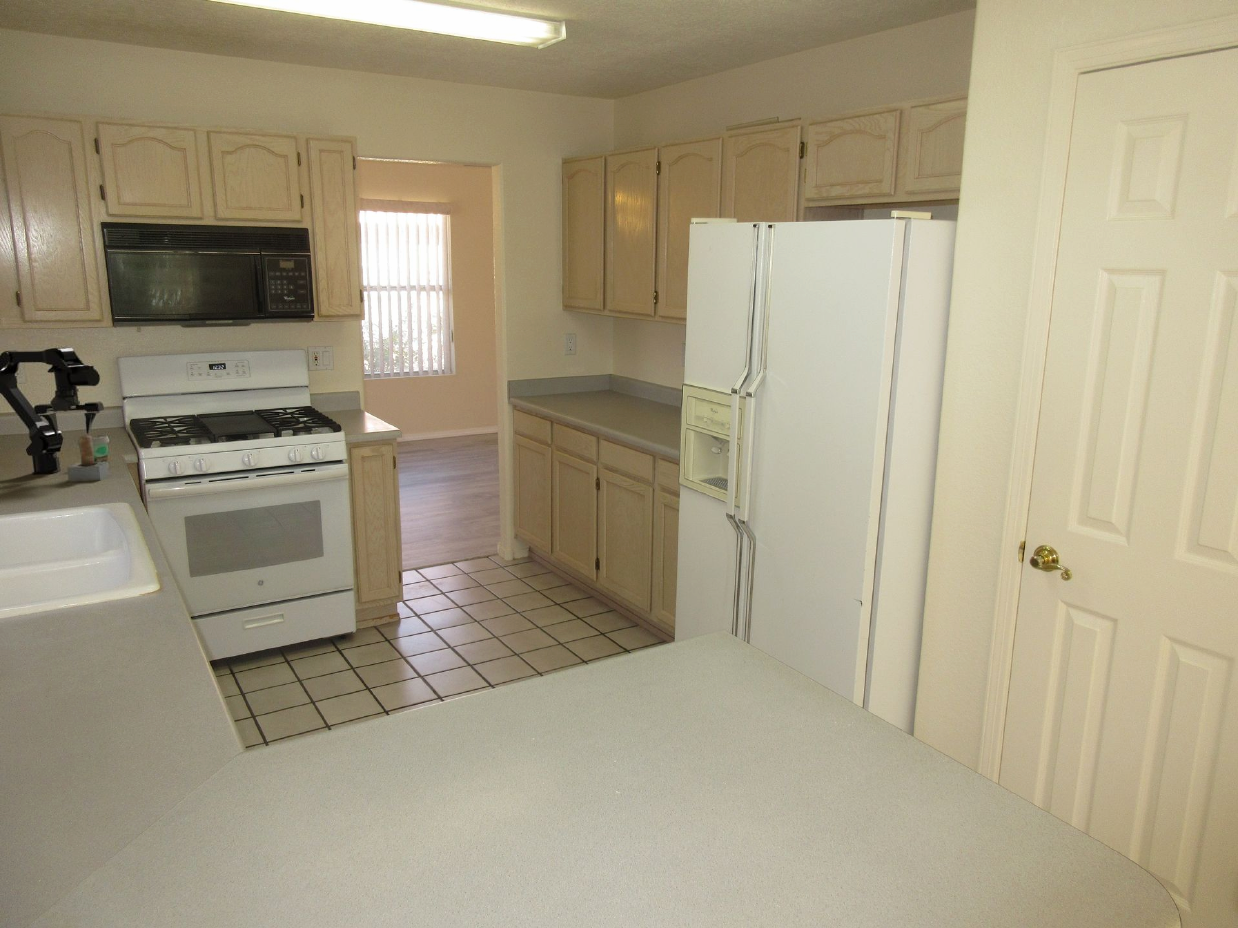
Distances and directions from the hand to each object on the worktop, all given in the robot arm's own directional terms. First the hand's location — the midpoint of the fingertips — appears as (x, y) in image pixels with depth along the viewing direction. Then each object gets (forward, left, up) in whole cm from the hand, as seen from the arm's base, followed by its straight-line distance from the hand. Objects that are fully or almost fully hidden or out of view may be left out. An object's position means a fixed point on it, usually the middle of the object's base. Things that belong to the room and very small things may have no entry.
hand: (72, 434), depth 286 cm
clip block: (+7, -10, -13) cm, 18 cm away
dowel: (+7, -10, -12) cm, 17 cm away
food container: (+3, +14, -13) cm, 20 cm away
